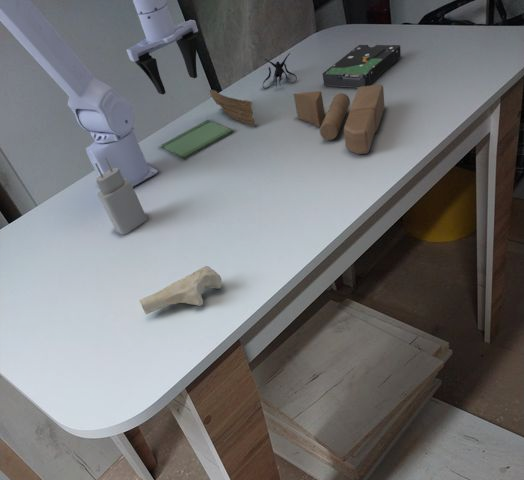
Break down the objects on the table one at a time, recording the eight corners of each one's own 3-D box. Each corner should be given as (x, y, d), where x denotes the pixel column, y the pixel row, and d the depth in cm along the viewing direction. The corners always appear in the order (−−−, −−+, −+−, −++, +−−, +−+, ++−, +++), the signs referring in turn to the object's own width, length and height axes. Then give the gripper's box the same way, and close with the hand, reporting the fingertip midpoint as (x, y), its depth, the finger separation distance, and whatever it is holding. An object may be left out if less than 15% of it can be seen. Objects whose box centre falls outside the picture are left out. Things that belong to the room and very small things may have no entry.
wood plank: (261, 124, 106) (255, 99, 102) (253, 128, 105) (247, 104, 102) (222, 109, 116) (216, 86, 113) (215, 113, 116) (208, 90, 112)
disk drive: (359, 58, 118) (323, 86, 111) (358, 44, 116) (321, 73, 109) (401, 58, 112) (365, 88, 105) (401, 44, 110) (364, 74, 103)
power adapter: (148, 218, 90) (119, 153, 82) (124, 235, 89) (91, 171, 80) (139, 214, 92) (109, 150, 84) (114, 230, 90) (81, 167, 82)
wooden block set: (383, 75, 94) (367, 123, 83) (385, 106, 98) (370, 156, 87) (294, 86, 100) (267, 132, 89) (299, 115, 104) (274, 163, 93)
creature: (297, 90, 116) (297, 68, 120) (292, 67, 112) (293, 45, 115) (263, 97, 118) (264, 75, 122) (257, 75, 113) (258, 53, 117)
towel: (184, 159, 103) (183, 156, 103) (161, 147, 110) (161, 144, 109) (233, 132, 106) (232, 129, 106) (208, 121, 113) (207, 119, 113)
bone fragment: (145, 311, 73) (134, 291, 71) (219, 278, 74) (211, 258, 72) (151, 330, 70) (140, 311, 67) (229, 296, 71) (221, 276, 68)
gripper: (127, 26, 91) (156, 104, 101) (195, -6, 95) (217, 72, 105) (111, 22, 96) (140, 97, 105) (177, -8, 100) (199, 67, 109)
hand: (178, 85), depth 105 cm, fingers open, 7 cm apart
